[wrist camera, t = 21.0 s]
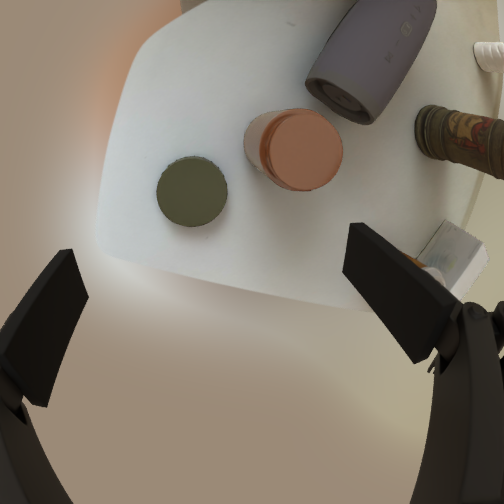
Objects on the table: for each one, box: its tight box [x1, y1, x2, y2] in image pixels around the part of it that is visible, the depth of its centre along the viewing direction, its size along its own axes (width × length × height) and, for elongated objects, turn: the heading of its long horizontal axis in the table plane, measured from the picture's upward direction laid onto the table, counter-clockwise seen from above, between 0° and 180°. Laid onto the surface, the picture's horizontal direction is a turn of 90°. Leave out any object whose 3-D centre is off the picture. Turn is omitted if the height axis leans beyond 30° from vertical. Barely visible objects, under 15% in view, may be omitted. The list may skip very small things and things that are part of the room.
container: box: [415, 105, 504, 180], centre depth 24 cm, size 9×9×18 cm
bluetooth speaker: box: [305, 0, 437, 125], centre depth 20 cm, size 23×9×10 cm, turn 149°
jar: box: [244, 109, 343, 191], centre depth 25 cm, size 8×8×10 cm
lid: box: [156, 156, 227, 227], centre depth 30 cm, size 8×8×2 cm
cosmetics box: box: [416, 220, 490, 301], centre depth 38 cm, size 10×6×10 cm, turn 143°
